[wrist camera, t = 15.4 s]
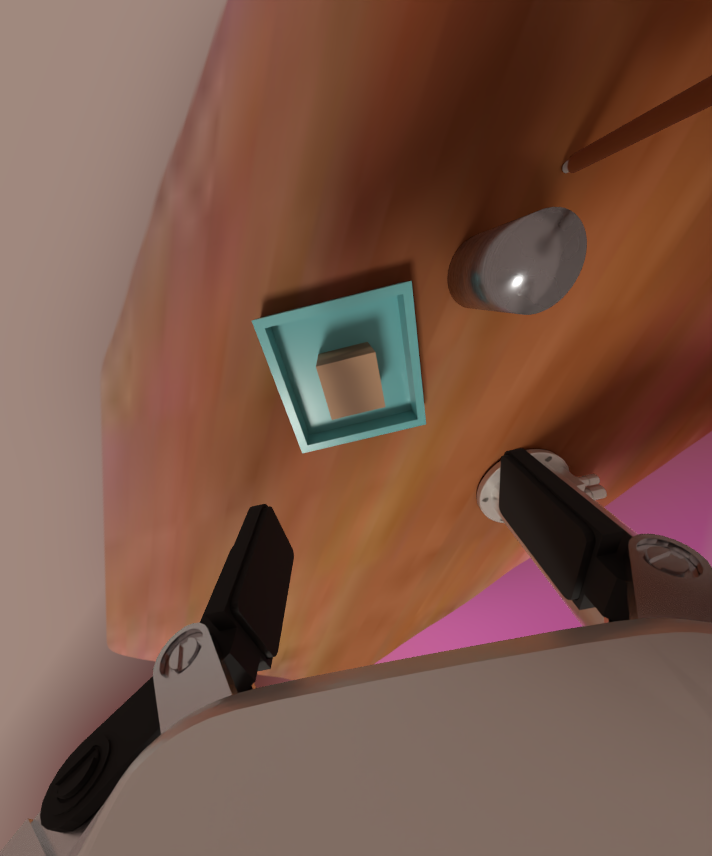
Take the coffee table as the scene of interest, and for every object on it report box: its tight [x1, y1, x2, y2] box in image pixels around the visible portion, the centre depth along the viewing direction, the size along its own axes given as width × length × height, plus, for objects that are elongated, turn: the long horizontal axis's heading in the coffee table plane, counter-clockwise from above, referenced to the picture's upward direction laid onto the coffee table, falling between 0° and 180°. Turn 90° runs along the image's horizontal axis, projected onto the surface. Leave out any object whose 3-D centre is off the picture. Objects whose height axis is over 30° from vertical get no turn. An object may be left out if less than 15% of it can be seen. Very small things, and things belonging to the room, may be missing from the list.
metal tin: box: [448, 207, 587, 315], centre depth 21 cm, size 6×6×8 cm
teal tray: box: [252, 281, 426, 453], centre depth 26 cm, size 14×14×3 cm
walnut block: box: [316, 342, 385, 420], centre depth 25 cm, size 5×5×5 cm
